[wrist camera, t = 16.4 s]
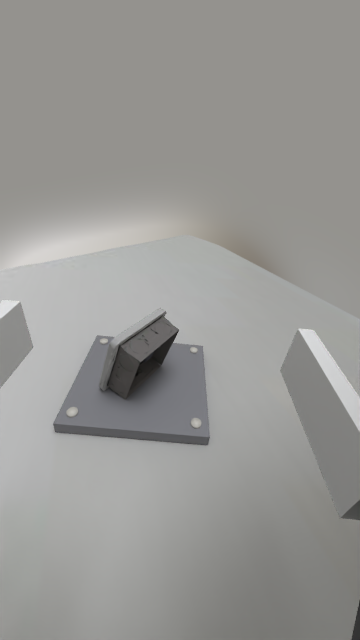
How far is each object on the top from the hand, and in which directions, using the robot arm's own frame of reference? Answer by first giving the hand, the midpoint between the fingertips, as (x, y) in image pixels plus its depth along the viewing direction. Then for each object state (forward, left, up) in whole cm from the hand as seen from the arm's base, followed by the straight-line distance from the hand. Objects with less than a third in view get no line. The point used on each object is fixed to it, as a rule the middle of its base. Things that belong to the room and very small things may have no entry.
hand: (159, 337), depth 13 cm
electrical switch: (+3, -15, -18) cm, 24 cm away
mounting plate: (+2, -15, -20) cm, 25 cm away
